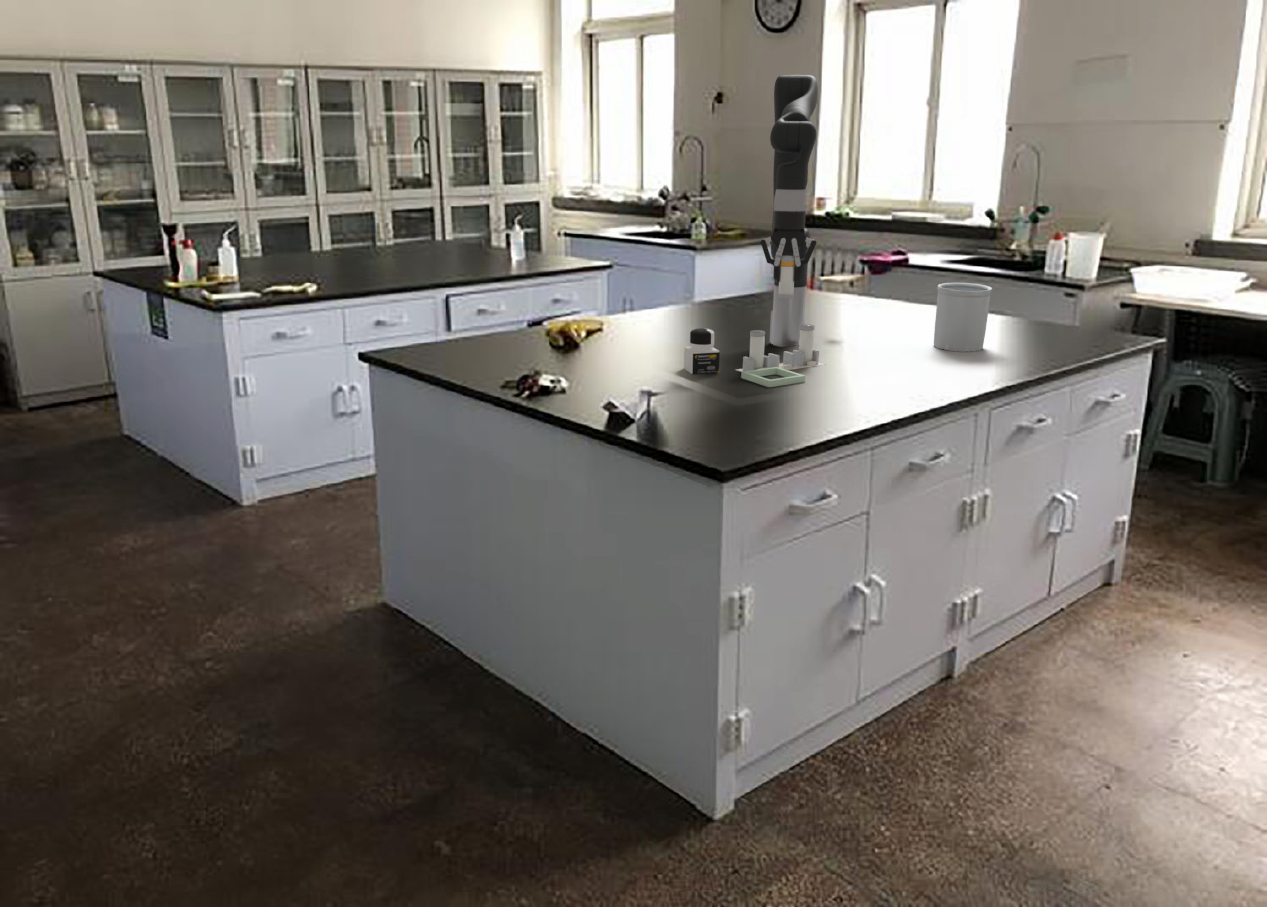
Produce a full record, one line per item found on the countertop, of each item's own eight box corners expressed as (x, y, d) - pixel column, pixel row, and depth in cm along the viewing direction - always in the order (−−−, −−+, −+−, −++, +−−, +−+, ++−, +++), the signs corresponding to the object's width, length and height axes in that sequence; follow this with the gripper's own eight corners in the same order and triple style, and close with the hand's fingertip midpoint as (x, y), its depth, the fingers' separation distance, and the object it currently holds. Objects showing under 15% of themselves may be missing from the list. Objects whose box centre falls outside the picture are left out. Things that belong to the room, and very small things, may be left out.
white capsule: (795, 363, 272) (797, 325, 269) (806, 361, 274) (808, 323, 271) (804, 365, 269) (806, 327, 266) (815, 364, 271) (817, 326, 268)
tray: (741, 383, 256) (741, 371, 256) (776, 378, 262) (776, 366, 261) (768, 393, 247) (769, 380, 247) (804, 387, 253) (805, 375, 252)
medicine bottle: (692, 380, 260) (693, 332, 256) (683, 374, 266) (684, 327, 263) (719, 378, 262) (720, 331, 258) (709, 372, 268) (711, 326, 264)
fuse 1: (745, 369, 264) (747, 330, 261) (757, 368, 266) (759, 329, 263) (754, 372, 261) (756, 333, 258) (766, 371, 263) (768, 332, 260)
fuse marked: (778, 298, 252) (780, 257, 249) (777, 296, 256) (779, 255, 253) (793, 299, 252) (795, 257, 249) (792, 297, 255) (794, 255, 253)
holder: (734, 375, 265) (735, 356, 263) (808, 364, 277) (809, 346, 275) (751, 380, 259) (752, 361, 258) (825, 370, 271) (826, 351, 269)
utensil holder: (996, 350, 295) (1003, 289, 290) (951, 354, 291) (957, 291, 286) (965, 340, 309) (971, 281, 303) (921, 343, 304) (927, 283, 299)
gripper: (818, 208, 251) (814, 280, 256) (759, 208, 252) (756, 279, 257) (821, 210, 244) (816, 284, 248) (760, 209, 245) (757, 283, 250)
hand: (786, 281), depth 253 cm, fingers closed on fuse marked, 3 cm apart
